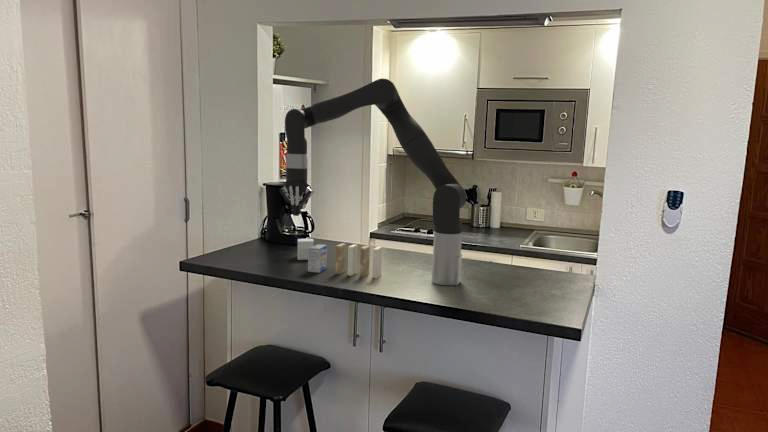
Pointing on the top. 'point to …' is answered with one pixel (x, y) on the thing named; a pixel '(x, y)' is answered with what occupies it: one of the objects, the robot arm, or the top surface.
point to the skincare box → (304, 248)
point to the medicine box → (317, 258)
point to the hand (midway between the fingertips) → (296, 215)
